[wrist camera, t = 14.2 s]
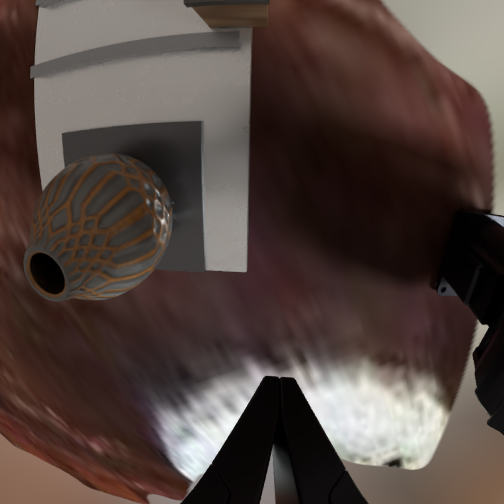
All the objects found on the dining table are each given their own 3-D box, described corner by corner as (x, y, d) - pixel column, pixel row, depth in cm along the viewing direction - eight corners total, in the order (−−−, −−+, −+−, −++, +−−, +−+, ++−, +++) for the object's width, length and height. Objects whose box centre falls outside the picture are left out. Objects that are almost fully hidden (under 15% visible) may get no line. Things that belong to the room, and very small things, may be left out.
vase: (65, 178, 18) (-33, 234, 10) (151, 122, 16) (54, 146, 8) (117, 268, 20) (50, 358, 12) (206, 229, 19) (161, 325, 11)
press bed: (254, -36, 13) (252, -51, 11) (247, 263, 21) (245, 280, 19) (49, 3, 13) (31, -2, 11) (64, 252, 22) (49, 266, 20)
